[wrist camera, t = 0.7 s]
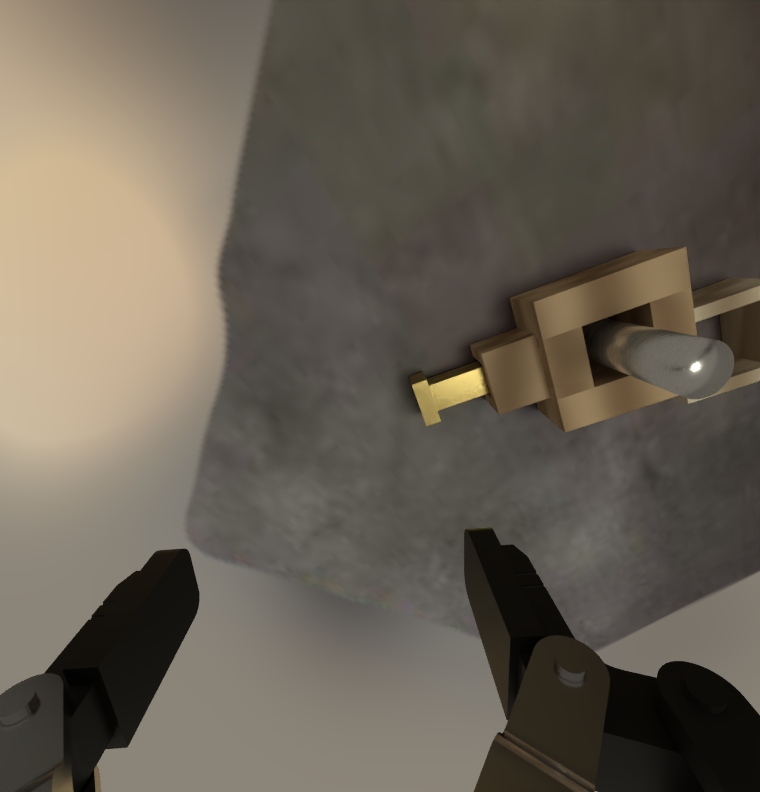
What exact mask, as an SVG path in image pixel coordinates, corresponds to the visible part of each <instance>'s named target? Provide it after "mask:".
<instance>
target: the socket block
mask: <svg viewBox="0 0 760 792" xmlns="http://www.w3.org/2000/svg"><path fill="white" fill-rule="evenodd" d="M509 299H510V303H511V307H512V311H513V314H514V318H515V322H516V326H517V328H516V329H513V330H510V331H507V332H505V333H502V334H499V335H496V336H493V337H491V338H488V339H485V340H482V341H479V342H477V343H474V344H471V345H470V348H471V352H472V355H473V357H474V358H475V359H477V360H478V361H479V362H480V363H481V364H482V365H483V369H484V372H485V375H486V379H487V382H488V386H489V389H490V392H491V393H488V394H485V398H486V400H487V401H488V402H489V404H490V405H491V406H492V407H493V408H494V409H495V411H496V412H497V413H498V414H499V415H500V414H503V413H506V412H509V411H512V410H515V409H518V408H521V407H524V406H527V405H530V404H533V403H537V406H538V410H539V411H540V412H541V413H543V414H544V415H545V416H546V417H547V418H549V419H550V420H551V421H552V422H553V423H554V424H556V425H557V426H558V427H559V428H560V429H562V430H563V431H564V432H568V431H571V430H574V429H577V428H581V427H584V426H587V425H590V424H593V423H596V422H599V421H602V420H605V419H608V418H611V417H614V416H617V415H620V414H623V413H626V412H630V411H633V410H636V409H639V408H642V407H645V406H648V405H651V404H654V403H657V402H660V401H663V400H666V399H669V398H672V397H676V396H679V395H677V394H675V393H672V392H669V391H667V390H664V389H662V388H659V387H657V386H654V385H652V384H649V383H647V382H644V381H642V380H639V379H637V378H634V377H632V376H629V375H627V374H624V373H622V372H619V371H617V370H614V369H612V368H609V367H607V366H604V365H602V364H599V363H597V362H594V361H590V362H589V359H588V354H587V349H586V345H585V340H584V335H583V330H582V326H584V325H587V324H590V323H593V322H596V321H598V320H601V319H604V318H607V317H610V316H611V320H615V321H620V322H626V323H631V324H636V325H641V326H647V327H652V328H657V329H662V330H668V331H673V332H678V333H683V334H689V335H694V336H697V331H696V323H695V315H694V307H693V299H692V291H691V283H690V275H689V266H688V258H687V250H686V247H678V248H668V249H657V250H647V251H636V252H633V253H631V254H628V255H625V256H623V257H620V258H617V259H614V260H612V261H609V262H606V263H604V264H601V265H598V266H595V267H593V268H590V269H587V270H585V271H582V272H579V273H576V274H574V275H571V276H568V277H565V278H563V279H560V280H557V281H555V282H552V283H549V284H546V285H544V286H541V287H538V288H536V289H533V290H530V291H527V292H525V293H522V294H519V295H516V296H514V297H511V298H509Z"/></svg>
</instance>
